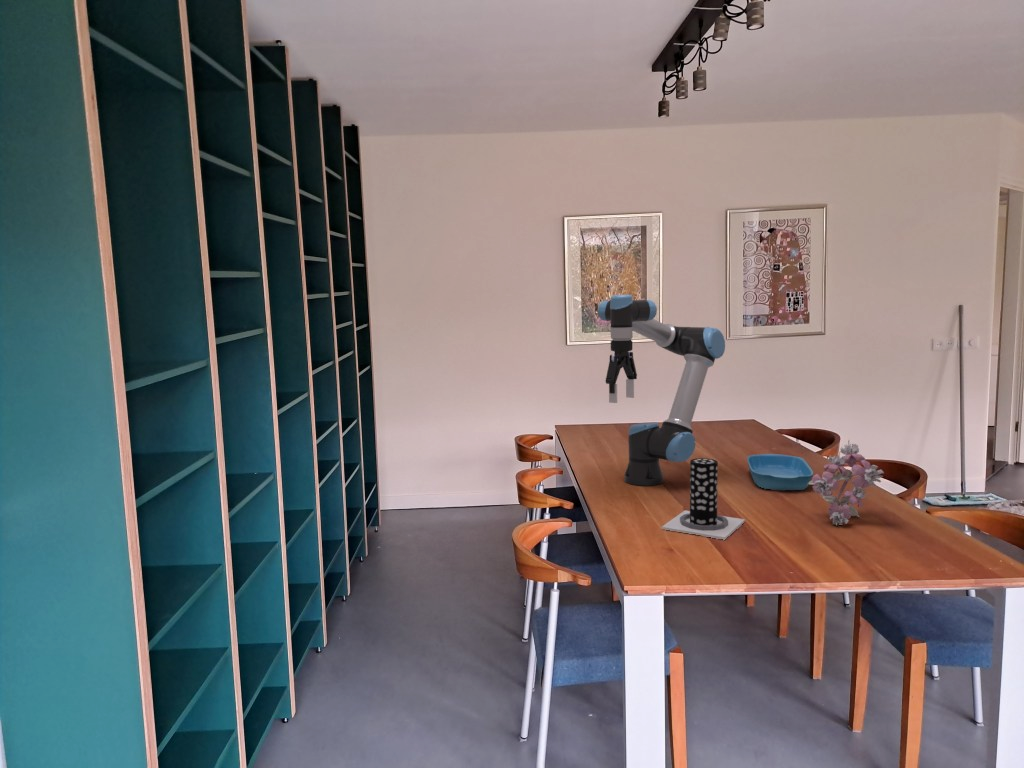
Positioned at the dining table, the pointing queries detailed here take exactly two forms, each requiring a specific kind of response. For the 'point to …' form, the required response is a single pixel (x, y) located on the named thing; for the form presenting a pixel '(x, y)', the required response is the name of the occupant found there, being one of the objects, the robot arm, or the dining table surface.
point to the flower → (845, 483)
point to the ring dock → (704, 526)
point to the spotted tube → (703, 491)
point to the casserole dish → (779, 471)
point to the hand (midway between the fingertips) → (621, 400)
